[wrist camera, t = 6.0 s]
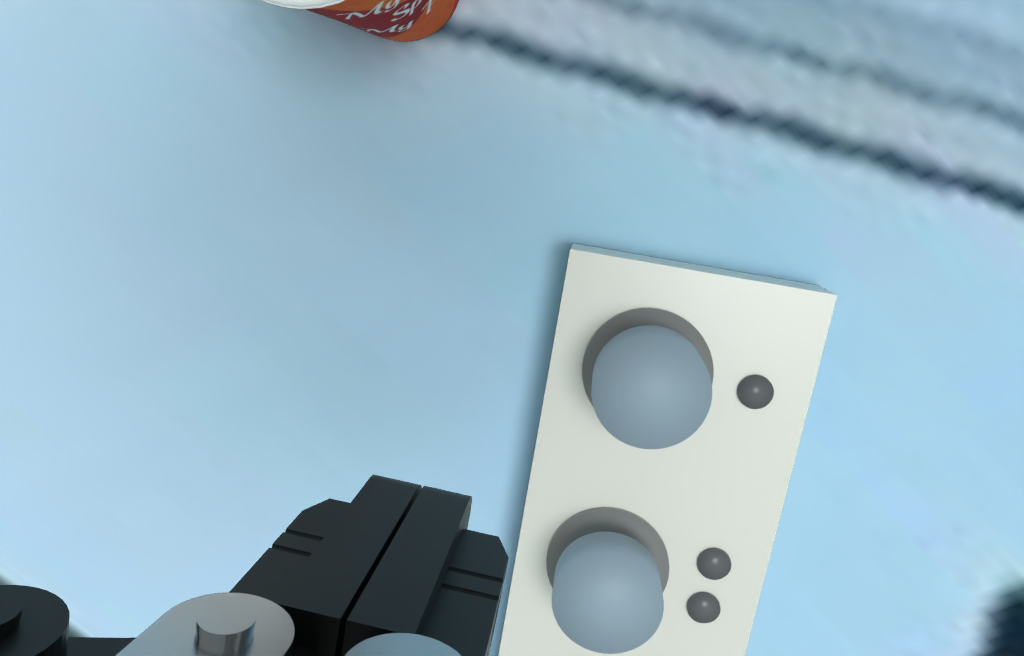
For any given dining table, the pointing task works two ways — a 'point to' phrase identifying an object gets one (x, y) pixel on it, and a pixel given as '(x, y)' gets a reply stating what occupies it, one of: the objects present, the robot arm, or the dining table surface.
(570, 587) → the two-dot button
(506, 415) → the dining table surface
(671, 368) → the one-dot button
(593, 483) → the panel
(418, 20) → the paper cup
